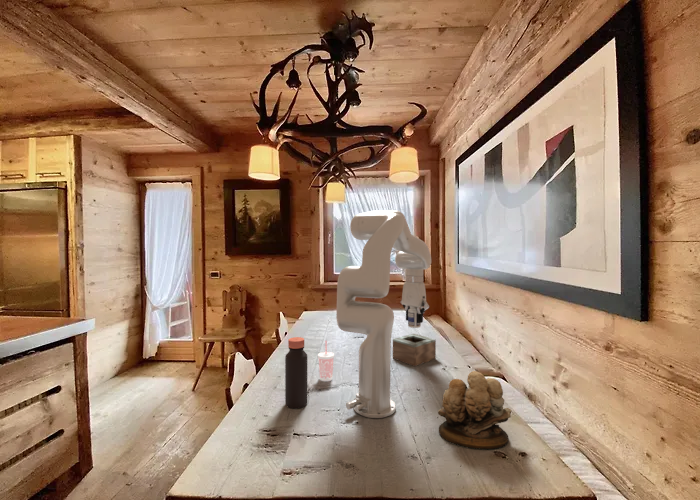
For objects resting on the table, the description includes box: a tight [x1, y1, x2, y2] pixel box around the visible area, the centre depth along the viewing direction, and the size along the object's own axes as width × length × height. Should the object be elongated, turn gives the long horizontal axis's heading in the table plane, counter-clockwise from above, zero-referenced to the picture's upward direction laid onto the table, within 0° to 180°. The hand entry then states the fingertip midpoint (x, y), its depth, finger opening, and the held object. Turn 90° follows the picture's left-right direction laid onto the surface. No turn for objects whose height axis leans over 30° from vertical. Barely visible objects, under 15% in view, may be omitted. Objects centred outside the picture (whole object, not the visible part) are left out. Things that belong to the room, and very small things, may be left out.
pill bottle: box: [407, 306, 422, 329], centre depth 142 cm, size 5×5×10 cm
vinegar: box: [284, 336, 308, 410], centre depth 101 cm, size 7×7×20 cm
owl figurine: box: [437, 370, 513, 451], centre depth 84 cm, size 18×12×17 cm, turn 83°
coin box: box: [392, 333, 437, 367], centre depth 142 cm, size 14×12×8 cm
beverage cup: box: [317, 340, 335, 382], centre depth 120 cm, size 6×6×14 cm
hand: (414, 321), depth 142 cm, fingers closed on pill bottle, 5 cm apart
